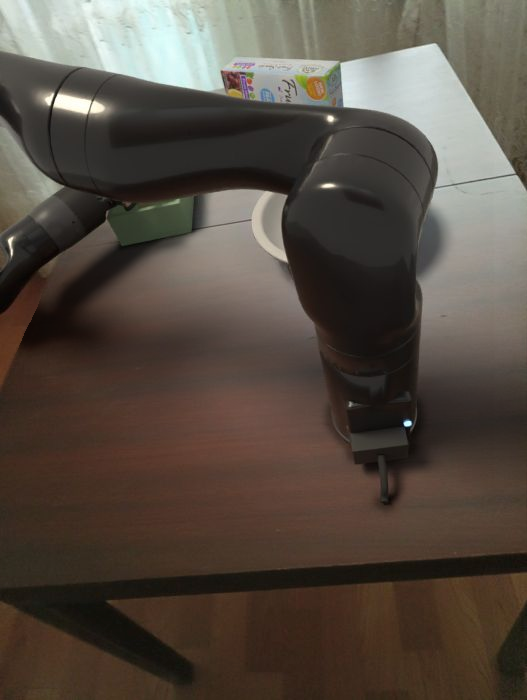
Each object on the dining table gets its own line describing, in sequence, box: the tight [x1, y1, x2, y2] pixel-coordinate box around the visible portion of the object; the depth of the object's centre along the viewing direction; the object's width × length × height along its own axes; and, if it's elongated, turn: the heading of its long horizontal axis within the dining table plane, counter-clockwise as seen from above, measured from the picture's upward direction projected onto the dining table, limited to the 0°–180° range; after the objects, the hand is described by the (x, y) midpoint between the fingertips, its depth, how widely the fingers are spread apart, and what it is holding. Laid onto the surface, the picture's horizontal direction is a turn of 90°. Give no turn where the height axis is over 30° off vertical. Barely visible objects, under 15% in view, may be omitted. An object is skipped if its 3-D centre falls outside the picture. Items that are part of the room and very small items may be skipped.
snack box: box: [219, 56, 345, 107], centre depth 88 cm, size 21×6×15 cm, turn 58°
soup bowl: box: [251, 191, 289, 265], centre depth 73 cm, size 24×24×7 cm
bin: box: [106, 196, 195, 247], centre depth 87 cm, size 13×13×6 cm
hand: (148, 158), depth 82 cm, fingers closed on canister, 5 cm apart
